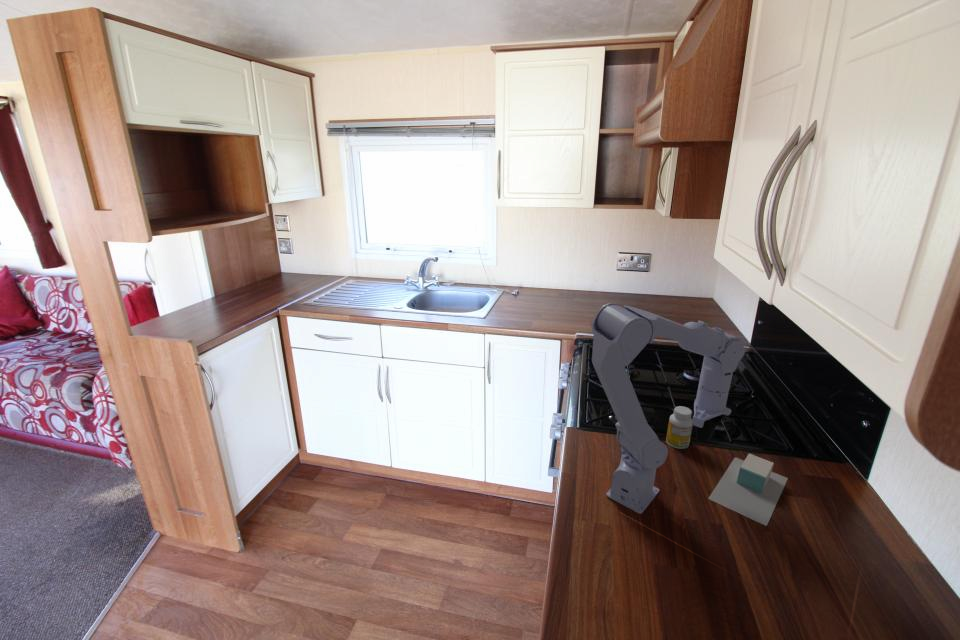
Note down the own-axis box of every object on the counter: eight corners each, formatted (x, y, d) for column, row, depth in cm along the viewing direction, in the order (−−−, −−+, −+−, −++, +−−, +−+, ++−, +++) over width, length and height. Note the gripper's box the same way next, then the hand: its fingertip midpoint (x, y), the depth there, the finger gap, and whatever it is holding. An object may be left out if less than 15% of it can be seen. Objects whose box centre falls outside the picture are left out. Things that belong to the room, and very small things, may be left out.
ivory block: (765, 478, 97) (773, 462, 102) (740, 467, 100) (748, 453, 105) (761, 493, 98) (769, 477, 103) (736, 482, 101) (745, 467, 106)
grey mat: (766, 527, 90) (766, 526, 90) (707, 499, 97) (708, 498, 97) (787, 479, 103) (788, 478, 103) (734, 458, 110) (735, 457, 110)
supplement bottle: (669, 434, 119) (675, 402, 116) (691, 442, 116) (697, 409, 112) (662, 444, 115) (668, 411, 112) (684, 452, 112) (691, 418, 109)
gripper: (723, 406, 88) (710, 464, 93) (744, 380, 98) (732, 433, 102) (686, 394, 92) (676, 449, 97) (710, 370, 102) (700, 421, 107)
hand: (702, 440), depth 100 cm, fingers closed
